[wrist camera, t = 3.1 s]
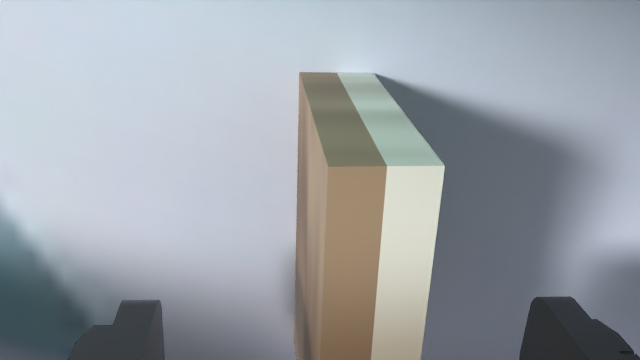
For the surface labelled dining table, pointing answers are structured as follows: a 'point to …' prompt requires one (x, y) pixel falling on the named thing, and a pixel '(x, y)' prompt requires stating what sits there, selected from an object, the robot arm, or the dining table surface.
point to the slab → (362, 222)
